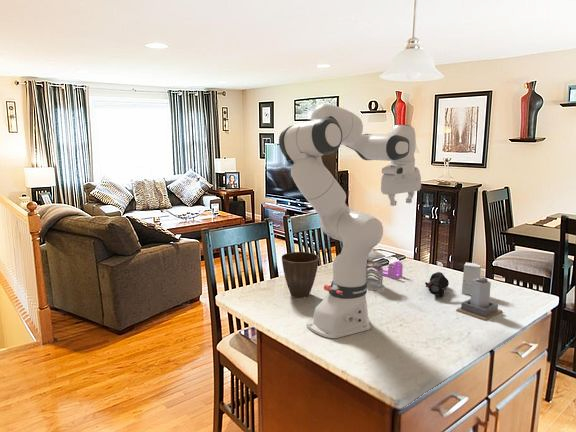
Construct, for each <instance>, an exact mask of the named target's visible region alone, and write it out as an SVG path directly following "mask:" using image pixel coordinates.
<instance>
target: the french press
mask: <svg viewBox="0 0 576 432" xmlns="http://www.w3.org/2000/svg"><path fill="white" fill-rule="evenodd" d="M384 257H385V256H384V254H383V253H382V252H379V251H375V250H371V251H370V253H369V256H368V259H373V261H368V262H367V264H366V283H367V291H380V290H381V291H382V290H384V289H385V287H386V286H385V285H384V284H383V277H384V276H383V269H384V267H382V266H383V264H382V263H380V262H378V261H375V260H376V259H377V260H379V259H382V258H384ZM374 269H376V270H378V271H375V270H374Z"/></svg>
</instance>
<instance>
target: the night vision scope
mask: <svg viewBox="0 0 576 432" xmlns="http://www.w3.org/2000/svg"><path fill="white" fill-rule="evenodd" d="M449 283H450V282H449V280H448V278H447V277H446V276H445V275H444V273H443V272H440V271H437V272H434V273H432V274H431V276H430V278H429V281H428V282H427V281H425V283H424V285H425V288H427V289H428V291H429V292H430V294H432V295H435V296H438V298H441V299H442V298H444V295H445V293H446V288H448V287H449Z"/></svg>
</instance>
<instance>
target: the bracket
mask: <svg viewBox="0 0 576 432" xmlns="http://www.w3.org/2000/svg"><path fill="white" fill-rule="evenodd" d="M403 267H404V265H403V262H401V261H400V260H397V261H395V262H390V263H389V264H388V266H387V268H388V269H387V268H383V277H386V278H390V279H393V280H396V279H398V278H402V277H403ZM373 269H374V268H373ZM374 270H375V271H378V270H376V269H374Z"/></svg>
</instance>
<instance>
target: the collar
mask: <svg viewBox="0 0 576 432" xmlns="http://www.w3.org/2000/svg"><path fill="white" fill-rule="evenodd" d="M470 301H471V298H469V299H466V300H465V301H462V302H461V303H460V307H458V308H456V310H455V311H456V312H459V313H462V314H465V315H468V316H470V317H473V318H476V319H480V320H482V321H487V320H490V319H491V318H493V317H495V316H498V315H499V314H501V313H503V310H502V309H500V308H499V303H495V302H492V301H490V300H489V307H486V308H484V309H483V308H480V307H477V306H474V305H471V304H470Z"/></svg>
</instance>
